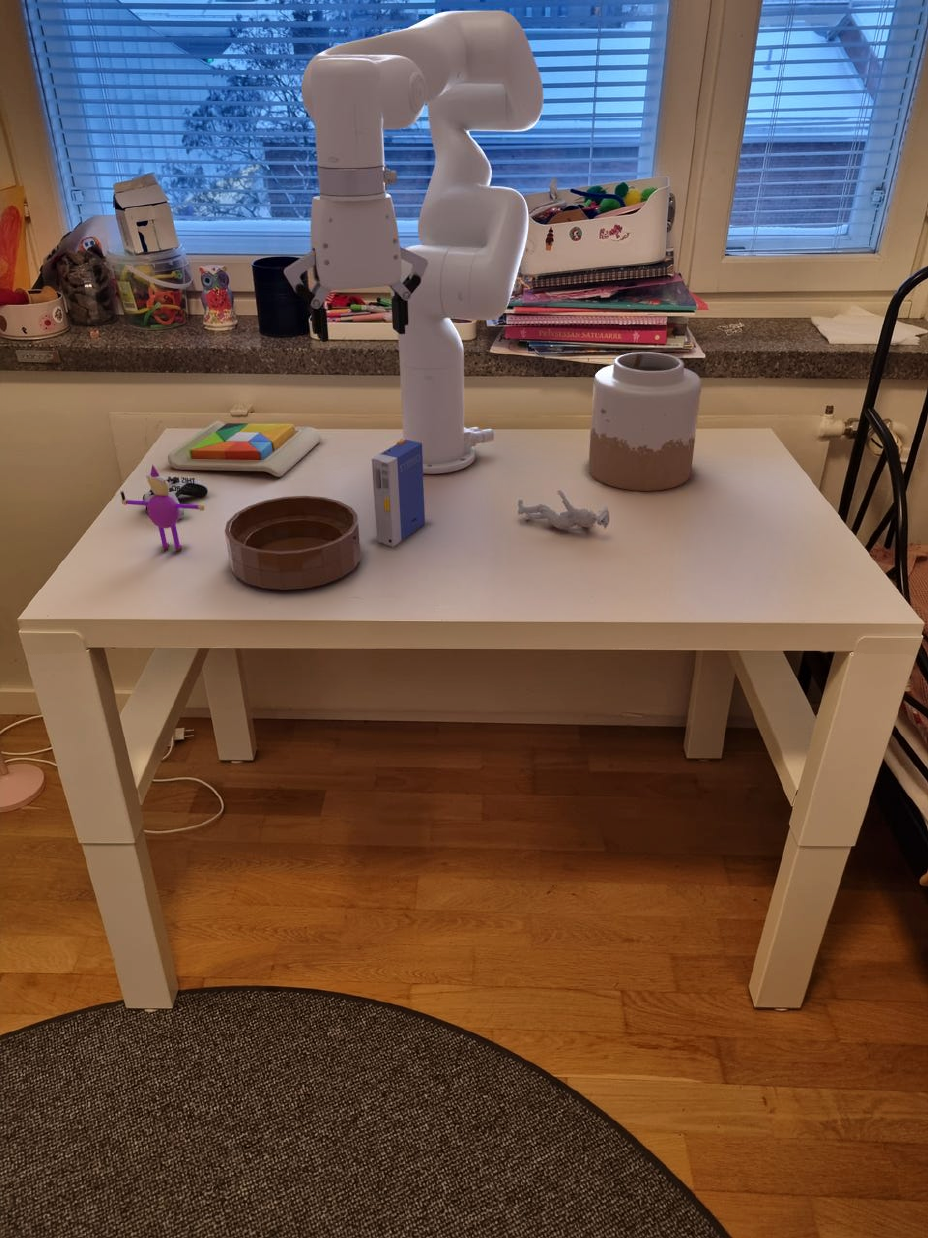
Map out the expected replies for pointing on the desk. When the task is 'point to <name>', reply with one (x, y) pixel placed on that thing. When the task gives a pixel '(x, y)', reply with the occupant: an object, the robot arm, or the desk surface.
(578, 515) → the soldier figure
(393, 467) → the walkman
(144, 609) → the desk surface
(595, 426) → the vase
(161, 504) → the wizard figurine
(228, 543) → the bowl
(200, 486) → the game controller
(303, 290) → the robot arm
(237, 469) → the wooden puzzle
